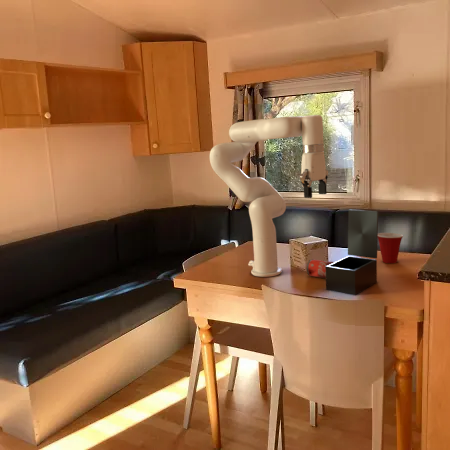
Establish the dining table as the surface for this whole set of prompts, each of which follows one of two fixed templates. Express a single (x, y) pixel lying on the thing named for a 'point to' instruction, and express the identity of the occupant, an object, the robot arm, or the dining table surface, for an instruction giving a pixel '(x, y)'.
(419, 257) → the dining table surface
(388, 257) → the plastic cup
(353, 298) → the dining table surface
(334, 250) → the dining table surface
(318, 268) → the beverage can
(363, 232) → the bin lid
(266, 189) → the robot arm
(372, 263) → the trash bin
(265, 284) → the dining table surface
